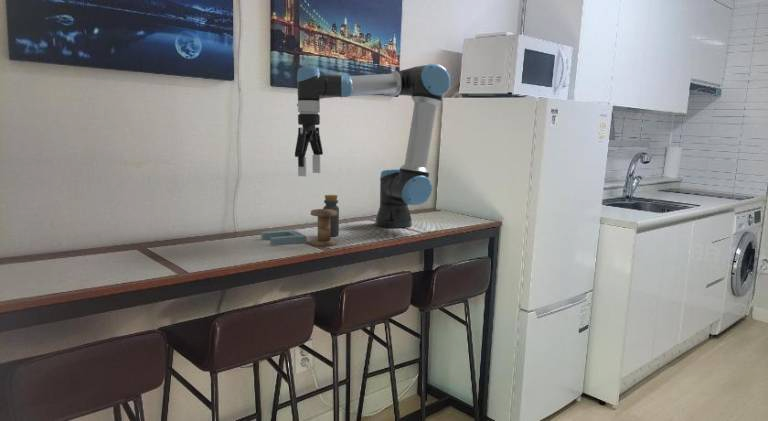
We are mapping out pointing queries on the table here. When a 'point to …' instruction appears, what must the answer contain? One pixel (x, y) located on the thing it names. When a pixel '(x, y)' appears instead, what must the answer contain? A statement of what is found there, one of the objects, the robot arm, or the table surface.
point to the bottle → (334, 225)
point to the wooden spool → (324, 227)
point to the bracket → (284, 237)
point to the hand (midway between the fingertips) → (309, 174)
